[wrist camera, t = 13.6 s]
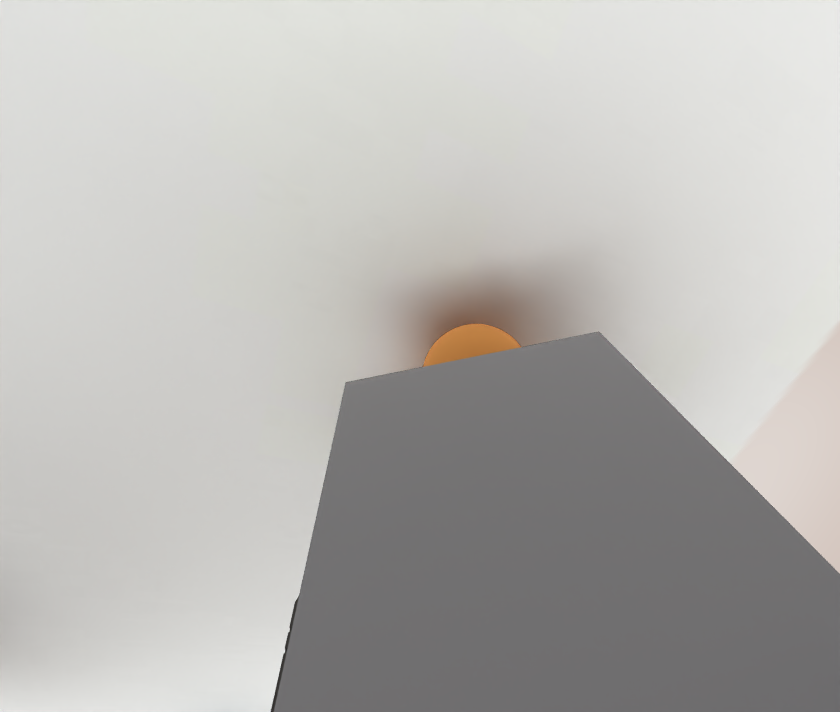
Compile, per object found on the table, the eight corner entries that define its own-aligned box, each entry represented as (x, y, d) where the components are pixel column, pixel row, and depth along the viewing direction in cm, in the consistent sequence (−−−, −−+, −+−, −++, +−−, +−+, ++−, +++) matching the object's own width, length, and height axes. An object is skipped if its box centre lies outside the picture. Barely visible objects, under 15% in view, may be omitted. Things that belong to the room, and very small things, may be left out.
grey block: (401, 555, 15) (402, 1010, 7) (345, 382, 12) (246, 839, 4) (605, 518, 15) (836, 958, 7) (598, 331, 12) (993, 729, 4)
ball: (411, 310, 20) (423, 357, 25) (420, 419, 18) (431, 449, 22) (526, 296, 20) (516, 346, 24) (548, 406, 18) (533, 439, 22)
